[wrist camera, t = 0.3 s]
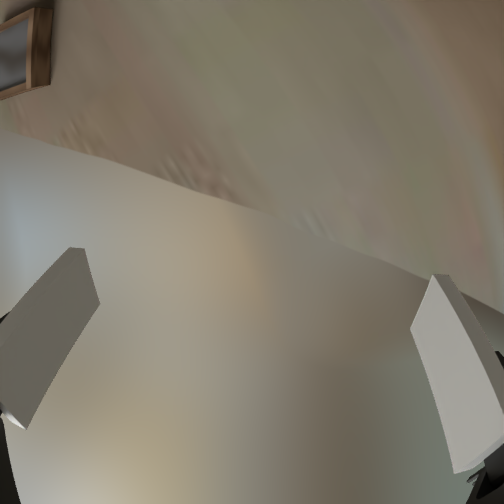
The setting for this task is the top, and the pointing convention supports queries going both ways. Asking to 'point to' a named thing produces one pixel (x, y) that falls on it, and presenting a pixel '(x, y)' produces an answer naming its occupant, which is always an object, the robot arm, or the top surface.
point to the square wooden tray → (25, 52)
